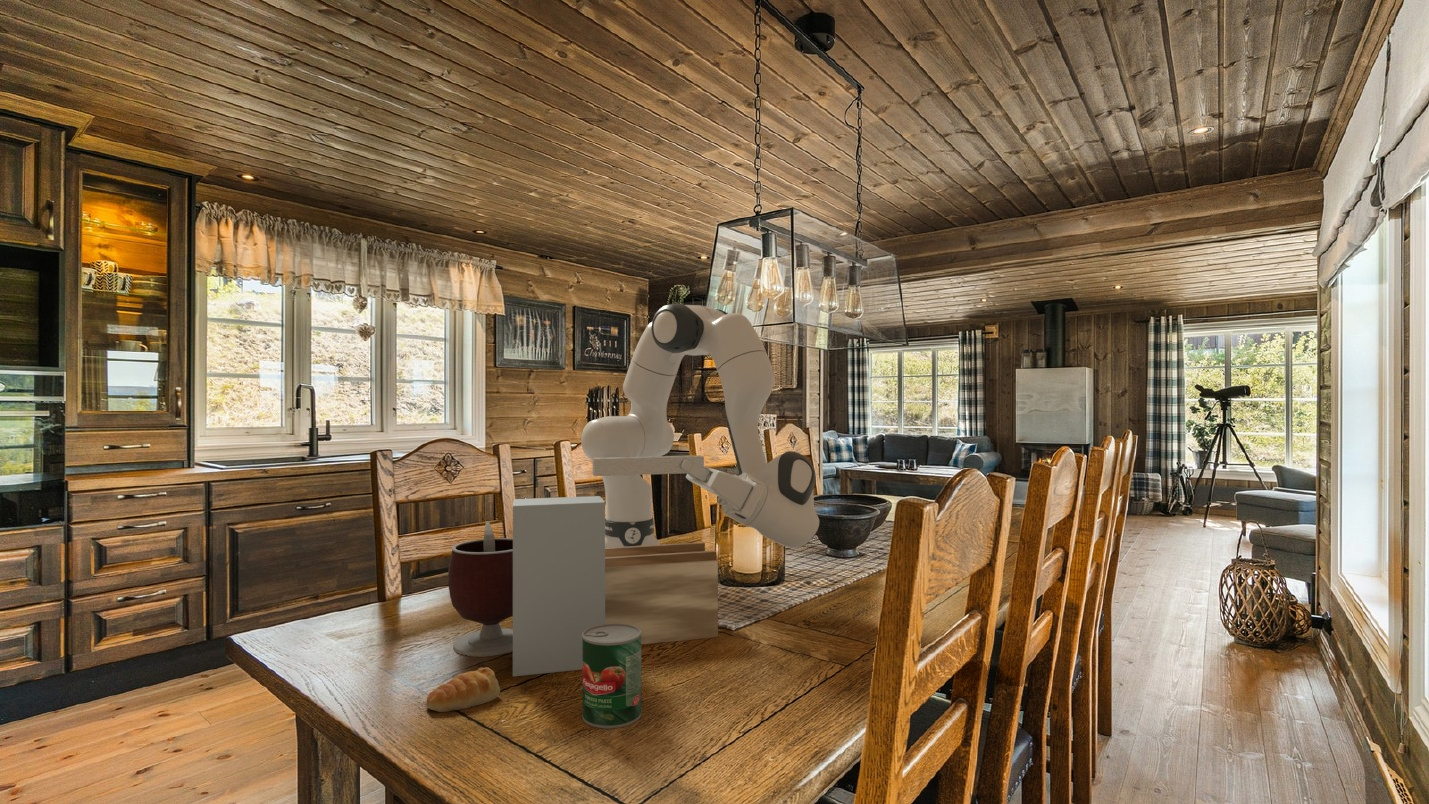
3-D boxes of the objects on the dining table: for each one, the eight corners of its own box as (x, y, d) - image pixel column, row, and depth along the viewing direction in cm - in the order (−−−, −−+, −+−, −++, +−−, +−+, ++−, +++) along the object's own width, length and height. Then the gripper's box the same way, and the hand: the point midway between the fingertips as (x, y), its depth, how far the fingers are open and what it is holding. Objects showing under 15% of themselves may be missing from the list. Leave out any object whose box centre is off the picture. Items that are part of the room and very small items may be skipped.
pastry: (439, 721, 89) (439, 692, 89) (417, 706, 93) (417, 678, 93) (504, 698, 96) (504, 671, 96) (480, 686, 100) (480, 660, 100)
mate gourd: (537, 651, 114) (537, 532, 114) (449, 663, 108) (449, 538, 109) (525, 624, 128) (525, 518, 128) (447, 633, 123) (447, 523, 123)
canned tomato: (644, 702, 94) (644, 622, 94) (639, 728, 86) (639, 642, 86) (587, 702, 94) (587, 623, 94) (576, 729, 86) (576, 643, 86)
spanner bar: (592, 474, 122) (592, 457, 122) (699, 471, 127) (699, 455, 127) (594, 476, 119) (594, 459, 119) (704, 472, 124) (703, 456, 124)
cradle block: (582, 629, 125) (582, 548, 125) (702, 618, 131) (702, 541, 131) (587, 649, 114) (587, 561, 114) (717, 637, 121) (717, 552, 121)
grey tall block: (513, 658, 111) (513, 499, 111) (599, 649, 114) (599, 496, 115) (512, 676, 103) (512, 506, 103) (605, 667, 107) (605, 502, 107)
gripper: (733, 477, 138) (675, 444, 135) (767, 488, 118) (701, 450, 115) (718, 504, 137) (660, 472, 134) (750, 520, 118) (683, 482, 114)
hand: (679, 462), depth 125 cm, fingers closed on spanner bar, 3 cm apart
